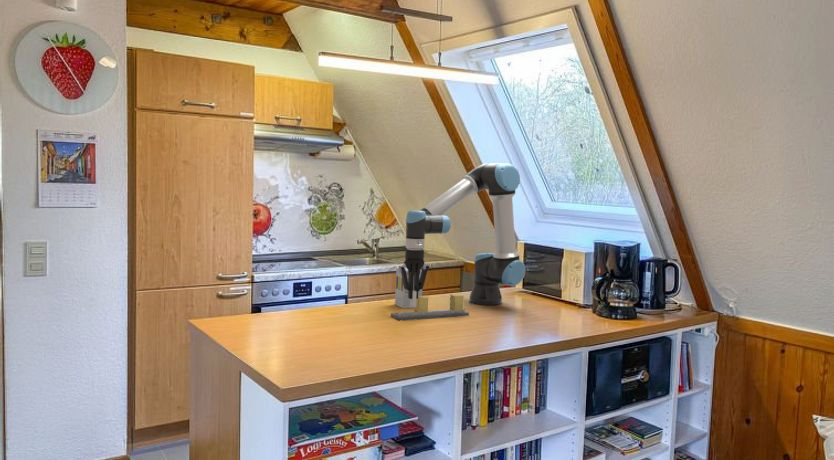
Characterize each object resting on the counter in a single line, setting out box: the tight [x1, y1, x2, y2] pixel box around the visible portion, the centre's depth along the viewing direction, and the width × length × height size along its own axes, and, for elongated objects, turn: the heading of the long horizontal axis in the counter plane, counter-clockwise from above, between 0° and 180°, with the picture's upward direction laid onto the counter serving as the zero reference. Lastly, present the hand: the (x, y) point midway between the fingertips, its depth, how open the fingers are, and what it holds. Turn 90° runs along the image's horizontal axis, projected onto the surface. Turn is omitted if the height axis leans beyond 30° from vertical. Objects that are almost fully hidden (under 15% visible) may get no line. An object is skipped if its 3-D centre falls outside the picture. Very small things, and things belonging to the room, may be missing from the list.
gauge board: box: [390, 293, 470, 322], centre depth 262 cm, size 8×32×8 cm, turn 116°
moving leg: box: [414, 295, 429, 313], centre depth 259 cm, size 7×4×7 cm, turn 26°
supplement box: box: [394, 266, 423, 309], centre depth 279 cm, size 10×9×17 cm
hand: (412, 306), depth 256 cm, fingers closed
